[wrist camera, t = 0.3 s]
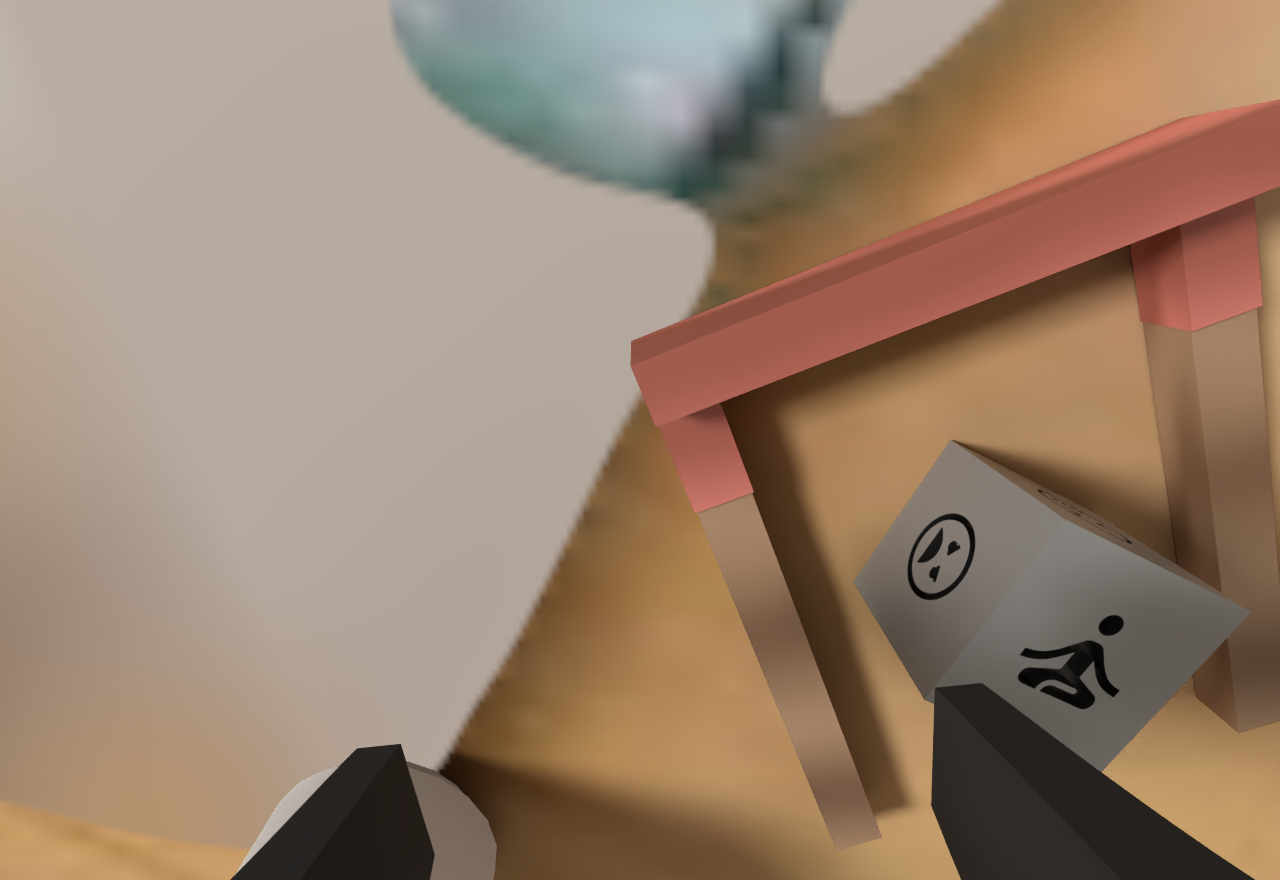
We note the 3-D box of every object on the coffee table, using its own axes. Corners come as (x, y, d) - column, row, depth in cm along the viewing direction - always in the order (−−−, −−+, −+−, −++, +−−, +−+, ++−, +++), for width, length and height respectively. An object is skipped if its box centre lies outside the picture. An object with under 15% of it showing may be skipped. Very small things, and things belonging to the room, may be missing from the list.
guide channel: (1246, 682, 20) (1346, 757, 17) (822, 810, 22) (850, 898, 19) (1184, 117, 15) (1314, 92, 12) (629, 341, 16) (628, 366, 14)
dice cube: (852, 580, 19) (924, 699, 14) (949, 439, 18) (1066, 519, 13) (988, 641, 20) (1099, 774, 15) (1092, 510, 18) (1251, 612, 14)
